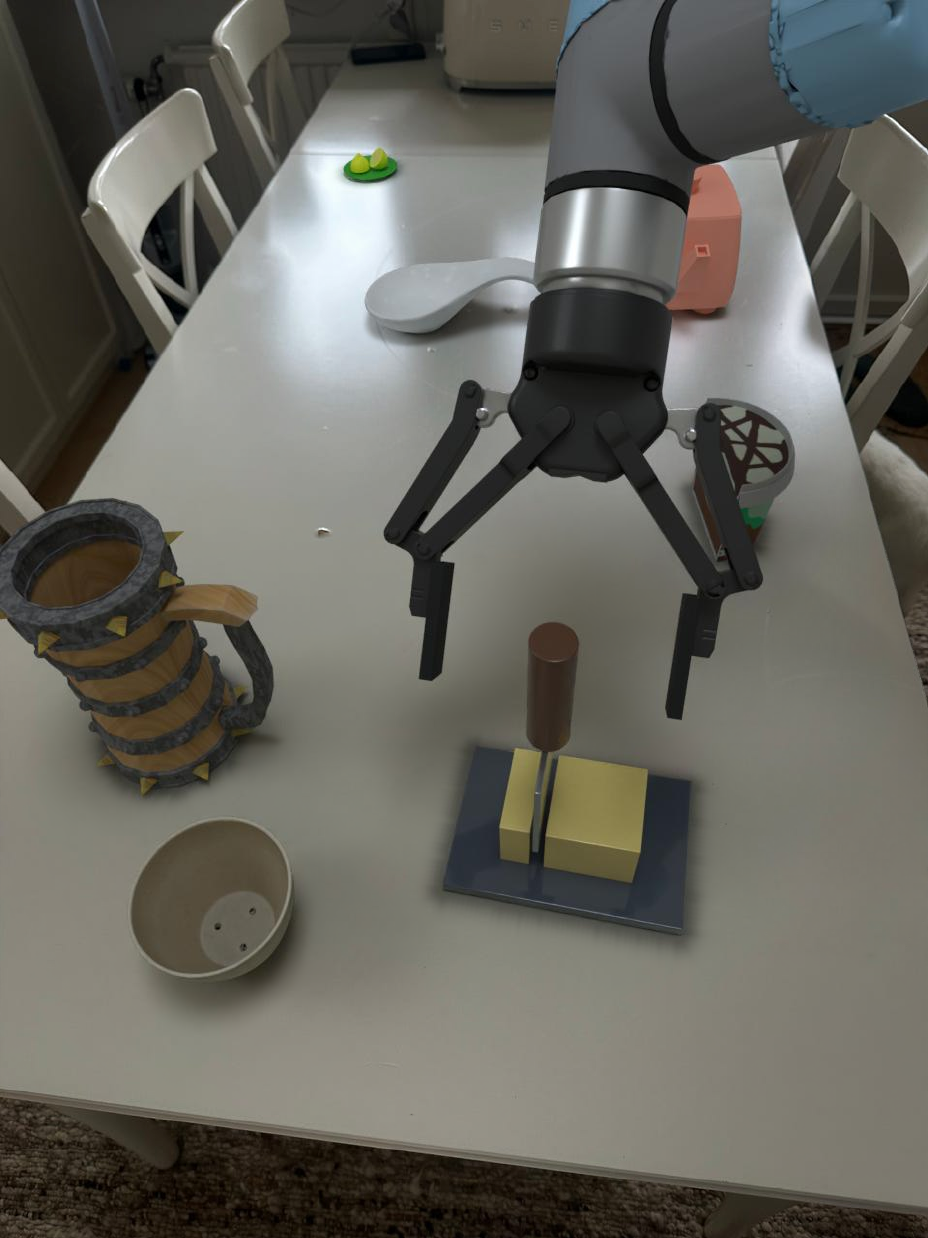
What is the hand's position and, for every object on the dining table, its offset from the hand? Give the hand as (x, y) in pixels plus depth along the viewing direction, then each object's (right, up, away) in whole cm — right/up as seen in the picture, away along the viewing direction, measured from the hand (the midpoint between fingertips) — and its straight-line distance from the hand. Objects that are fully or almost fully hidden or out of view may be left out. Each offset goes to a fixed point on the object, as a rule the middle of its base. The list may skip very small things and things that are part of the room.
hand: (548, 695), depth 48 cm
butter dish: (+3, -11, +13) cm, 18 cm away
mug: (-25, -5, +20) cm, 33 cm away
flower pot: (-20, -17, +10) cm, 28 cm away
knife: (+1, -8, +9) cm, 12 cm away
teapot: (+20, +43, +56) cm, 73 cm away
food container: (+20, +13, +32) cm, 40 cm away
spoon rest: (-4, +40, +54) cm, 67 cm away
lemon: (-19, +71, +80) cm, 108 cm away
